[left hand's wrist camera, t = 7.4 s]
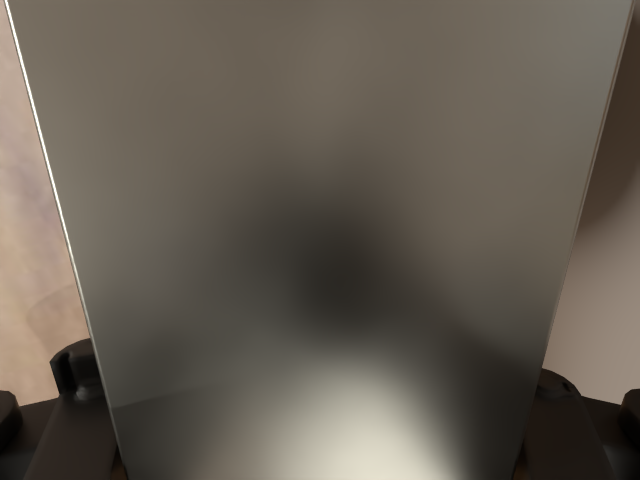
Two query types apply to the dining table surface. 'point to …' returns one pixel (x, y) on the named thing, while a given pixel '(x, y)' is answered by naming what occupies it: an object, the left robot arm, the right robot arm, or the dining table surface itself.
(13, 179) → the dining table surface
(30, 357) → the dining table surface
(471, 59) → the box
